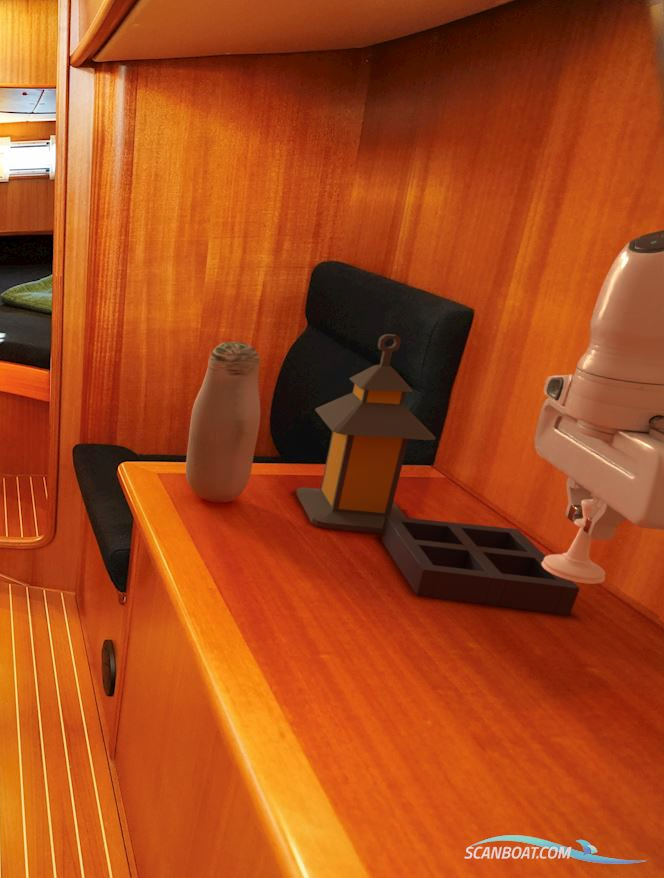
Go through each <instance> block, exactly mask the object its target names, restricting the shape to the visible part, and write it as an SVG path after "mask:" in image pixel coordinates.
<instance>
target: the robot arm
mask: <svg viewBox="0 0 664 878" xmlns="http://www.w3.org/2000/svg"><path fill="white" fill-rule="evenodd" d="M604 278H605V279H604V281H603V283H602V285H601V288H600V291H599V293H598V296H597V299H596V302H595V305H594V308H593V311H592V313H591V315H592V316H591V317H590V322H589V333H590V337H589V338H590V339H589V343H588V346H587V348H586V350H585V352H584V353H583V355H582V356H581V357H580V358H579V360H578V362H577V364H576V368H575V371H574V373H573V374H572V373H571V374H570V373H569V374H559V375H557V374H556V375H549V376H548V377H546V379H545V382H544V386H543V391H542V392H543V394H544V396H546V397H547V398H546V399H545V400H544V402H543V403H542V406H541V410H540V413H539V417H538V420H537V425H536V430H535V434H534V441H533V442H534V449H535V452H536V453H535V454H536V455H538V456H539V457H540V458H542V459H543V460H545V461H546V462H548V464H550V465H552V466H553V467H554V468H556V469H557V470H559V471H560V472H561V473H563V474H564V475H565V476H567V479H566V480H567V481H566V483H565V486H566V495H567V502H568V504H567V507H566V510H565V512H564V516H565V517H566V519H568V520H569V521H570V522H571V523H573V524H574V521H575V520H576V519H582V518H583V513H582V512H583V511H582V505H581V502H582V501H583V500H585V499H593V497H591V493H592V494H593V495H595V496H596V497H598V498H599V502H598V505H597V507H598V508H600V510H599V511H598V513H597V514H596V515H595V516H594V518H592V517H587V519H586V522H585V526H584V528H583V530H584V531H585V532H586V533H587V534H588V535H589V536H590V537H591V539H593V540H599V541H611V540H613V539H614V537H615V534H616V532H617V529H618V526H620V525H621V524H622V523H624V522H625V521H626V520H628V521H629V522H631V523H632V524H633V525H635V526H636V527H639V528H643V529H651V530H661V531H664V229H662V230H656V231H653V232H649V233H645V234H643V235H641V236H639V237H637V238H633V239H632V240H630V241H629V242H628V243H626V245H624V246H623V248H622V249H621V250H620V252H619V253H618V255H617V256H616V257H615V259H614V261H613V262H612V264H611V266H610V268H609V270H608V272H607V274H606V276H605V277H604Z"/></svg>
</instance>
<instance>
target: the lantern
mask: <svg viewBox="0 0 664 878" xmlns="http://www.w3.org/2000/svg"><path fill="white" fill-rule="evenodd" d="M390 339H392V340H393V344H392V345H390V346H386V344H385V343H386V341H387V340H390ZM401 342H402V339H401V337H399V336H398V335H396V334H393V333H385V334H383V335H381V336H380V337H379V338H378V342H377V347H378V350H380V351H382V352H381V355H380V356H381V357H380V362H379V364H374V365H372V366H370V367H368V368H367V369H365V370H363V371H361V372H359V373H357V374H355V375H353V376H351V377H349V379H348V380H350V381H351V382H352V383H353V388H352V392H350V393H348V394H345V395H343V396H341V397H339V398H336V399H334V400H332V401H330V402H327V403H325V404H323V405H321V406H318V407H316V408H315V409H314V410H315V412H316V413H317V414H318V416H319V417H320V418H321V419H322V421H323V422H324V424H325V425H326V426H327V427H328V428H329V429H330V431H331V432H332V433H331V436H330V442H329V447H328V451H327V455H326V461H325V467H324V471H323V476H322V481H321V484H320V485H321V486H320V487H319V488H317V487H307V486H301V487H298V488H297V489H296V496H297V498H298V500H299V502H300V504H301V507H302V508H303V510H304V511H305V513H306V515H307V517H308V519H309V521H310V523H311V524H312V525H313V526H316V527H318V528H322V529H329V530H339V531H340V530H341V531H350V532H351V531H352V532H360V533H361V532H362V533H370V534H379V535H381V533H382V528H383V524H384V520H385V516H394V517H404V518H407V517H406V515H405V514H404V513H403V512H402V510H401V509H400V508H399V506H398V505H397V504H396V503H395V501H394V500H395V497H396V492H397V488H398V484H399V480H400V476H401V471H402V467H403V464H404V460H405V456H406V452H407V447H408V443H409V440H421V441H435V440H436V436H434V434H433V433H432V432H431V431H429V429H428V428H427V427H426V426H425V425H424V424H423V423H422V422H421V421H420V420H419V419H418V418H417V417H416V416H415V415H414V414H413V413H412V412H411V411H410V410H409V409H408V408H407V407H406V406H405V404H404V402H405V397H406V393H413V392H414V391H413V389H412V388H411V387H410V385H409V384H408V383H407V382H406V381H405V380H404V379H403V378H402V376H400V374H399V373H398V372H397V371H396V370H395V368H393V367H392V366H391V365H390V364H391V360H392V356H393V352H396V351H397V352H398V350H399V349H400V347H401Z"/></svg>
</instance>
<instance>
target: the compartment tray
mask: <svg viewBox="0 0 664 878" xmlns="http://www.w3.org/2000/svg"><path fill="white" fill-rule="evenodd" d="M379 539H380V541H381V543H382V544H383V546H384V548H385V549H386V551H387V552H388V553H389V555H390V556H391V558H392V559H393V561H394V562H395V564H396V566H397V567H398V569H399V570H400V572H401V573H402V575H403V576H404V578H405V580H406V581H407V583H408V584H409V586H410V587H411V589H412V590H413V592H414V594H415V595H416V596H418V597H428V598H434V599H443V600H451V601H458V602H466V603H472V604H479V605H480V604H481V605H489V606H496V607H504V608H509V609H511V608H512V609H520V610H525V611H533V612H540V613H542V612H543V613H550V614H556V615H563V616H564V615H565V616H571V614H572V612H573V608H574V606H575V603H576V600H577V598H578V595H579V592H580V587H579V586H578V585H577V584H576V582H574V581H570V580H567V579H564V578H561V577H558V576H556V575H553V574H552V573H550V572H548V571H547V570H545V569H544V568H543V567H542V565H541V563H542V561H544V558H545V557H546V556H547V555H545V554H544V552H542V551H541V549H539V547H537V546H536V545H535V544H534V542H532V541H531V540H530V539H529V538H528V537H527V536H526V535H525V534H524V533H522V532H521V531H520V530H519V529H518V528H511V527H502V526H491V525H483V524H473V523H472V524H471V523H461V522H452V521H443V520H442V521H441V520H434V519H433V520H432V519H424V518H414V517H413V518H412V517H406V518H404V517H394V516H385V520H384V524H383V528H382V533H381V534H380V537H379Z"/></svg>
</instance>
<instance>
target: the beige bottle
mask: <svg viewBox="0 0 664 878" xmlns="http://www.w3.org/2000/svg"><path fill="white" fill-rule="evenodd" d="M260 364H261V363H260V356H259V352H258V351H257V350H256V348H254V347H253V346H252V345H251V344H248V343H246V342H243V341H226V342H221V343H219V344H218V345H216V347H215V348H213V350H212V352H211V353H210V356H209V358H208V363H207V369H206V372H205V376H204V378H203V381H202V384H201V386H200V389H199V392H198V393H197V395H196V398H195V400H194V403H193V406H192V409H191V416H190V424H189V431H188V440H187V441H188V443H187V452H186V458H185V459H186V460H185V477H186V481H187V484H188V486H189V488H190V489H191V491H192V492H193V493H194V494H195V495H196V496H197V497H199V498H201V499H202V500H204V501H208V502H211V503H217V504H224V503H228V502H232V501H234V500H236V499H237V498H238V497H240V496H241V495H242V494H243V492H244V490H245V489H246V488H247V485H249V482H250V479H251V474H252V467H253V462H254V456H255V450H256V446H257V441H258V437H259V430H260V424H261V400H260V399H261V398H260V390H259V373H260Z"/></svg>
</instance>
